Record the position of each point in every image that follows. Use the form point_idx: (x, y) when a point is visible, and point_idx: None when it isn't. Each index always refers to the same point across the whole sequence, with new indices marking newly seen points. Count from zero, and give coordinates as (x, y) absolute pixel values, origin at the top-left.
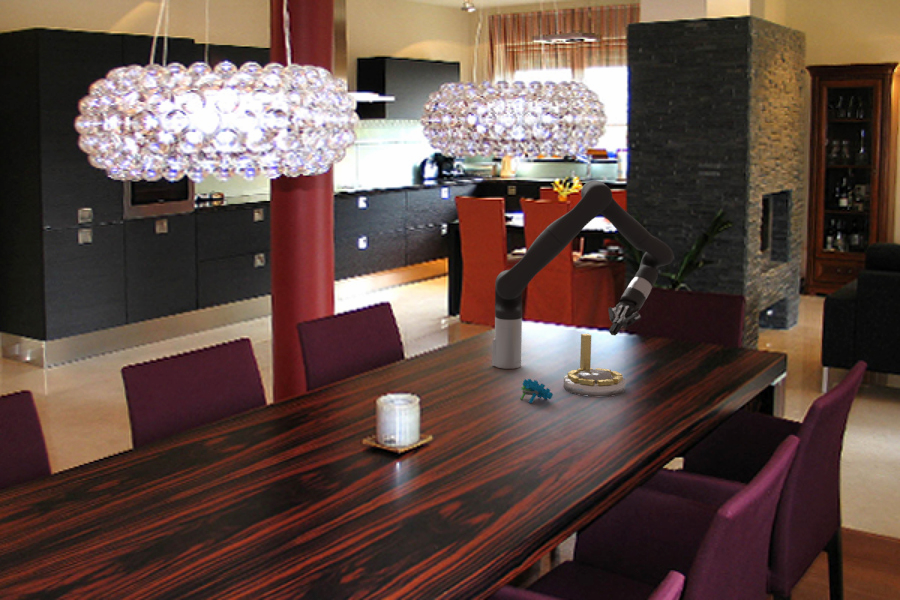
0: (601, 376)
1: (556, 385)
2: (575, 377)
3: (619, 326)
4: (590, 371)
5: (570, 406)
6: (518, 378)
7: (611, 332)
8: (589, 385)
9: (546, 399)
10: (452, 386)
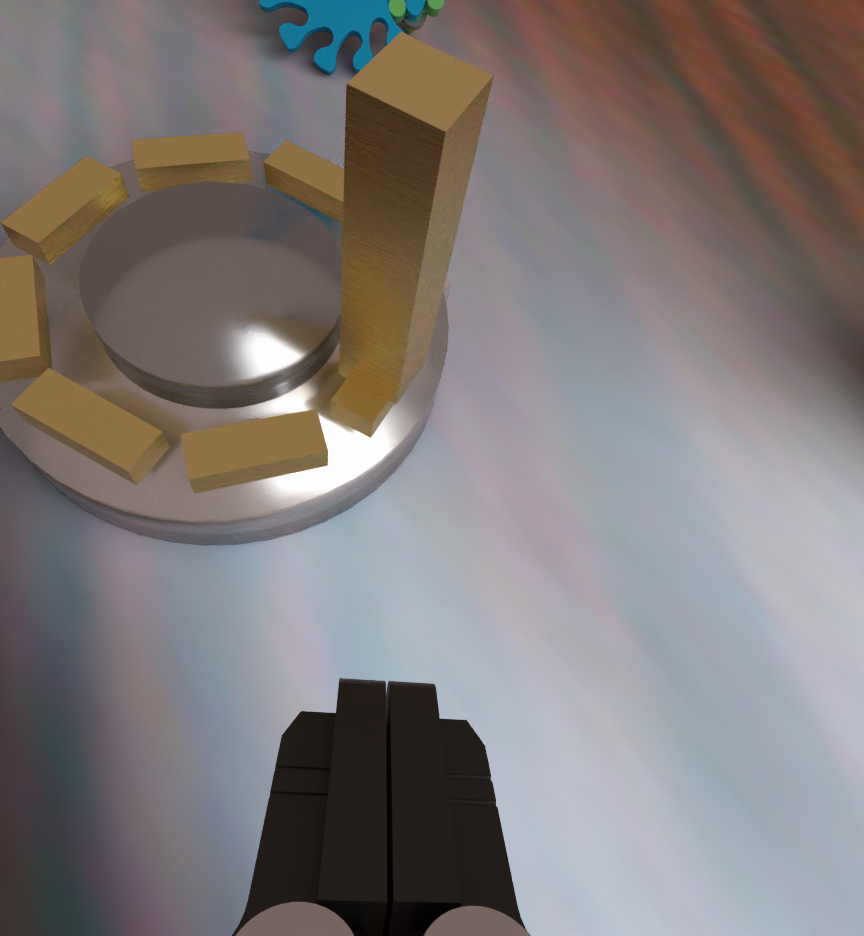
0: (125, 229)
1: (464, 278)
2: (290, 158)
3: (251, 895)
4: (279, 294)
5: (158, 45)
6: (710, 273)
7: (376, 683)
8: None
9: (320, 68)
10: (752, 48)
